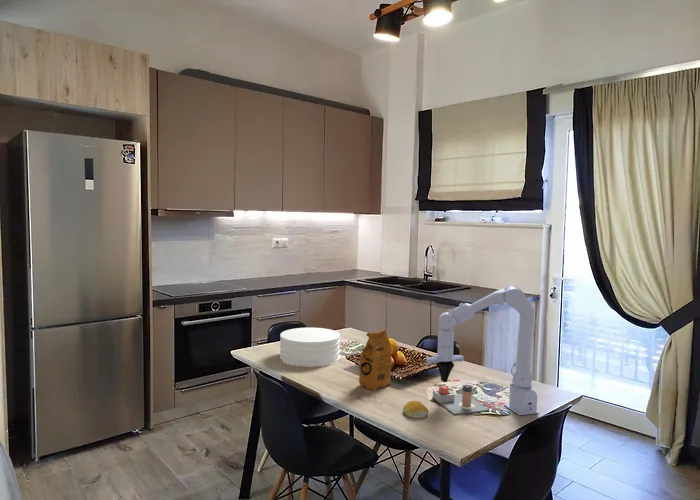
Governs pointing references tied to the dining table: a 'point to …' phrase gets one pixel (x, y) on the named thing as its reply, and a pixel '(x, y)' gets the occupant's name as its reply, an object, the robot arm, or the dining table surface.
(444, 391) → the button
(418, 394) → the dining table surface
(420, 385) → the dining table surface
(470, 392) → the spice jar
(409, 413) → the bread roll
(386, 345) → the coffee package
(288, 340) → the plate stack
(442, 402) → the board
